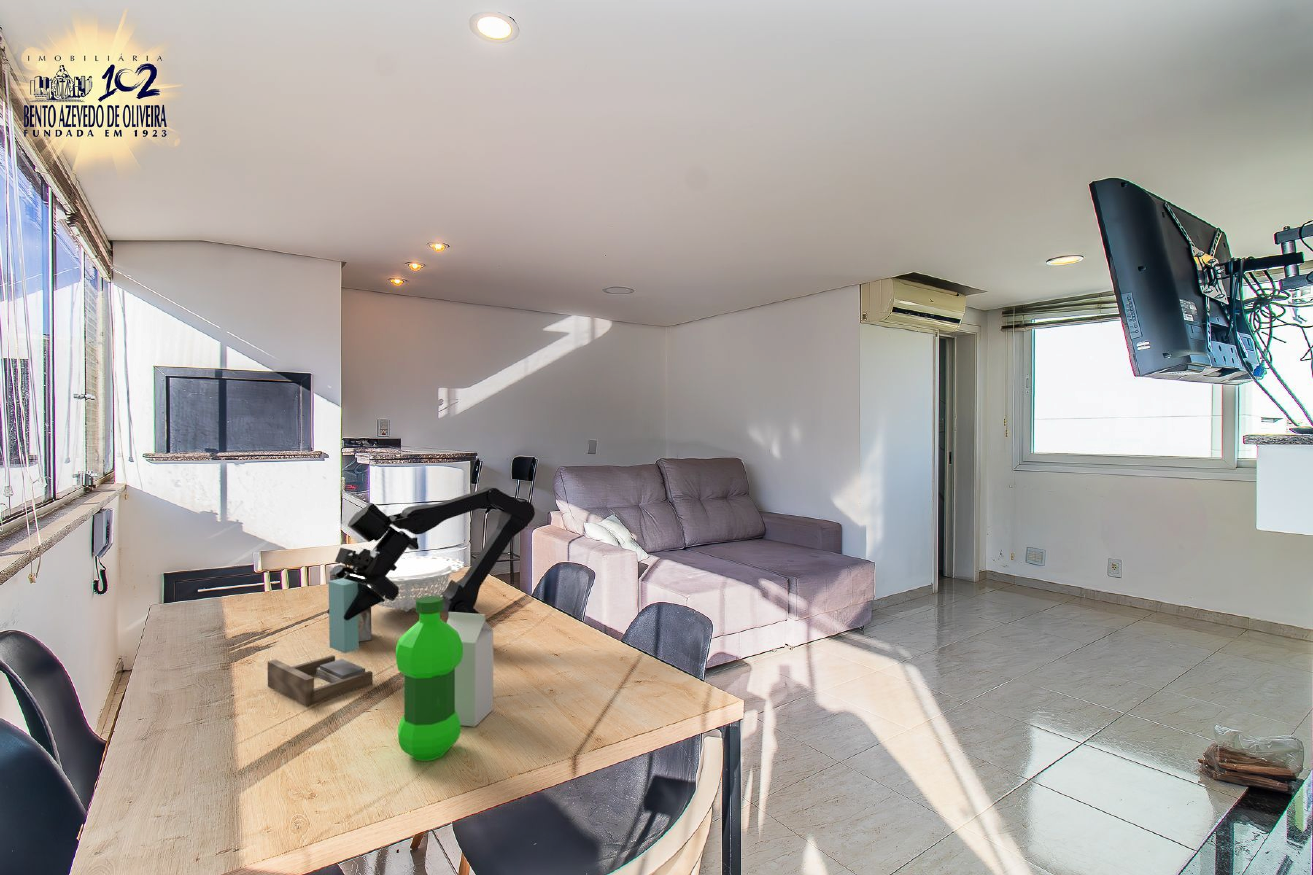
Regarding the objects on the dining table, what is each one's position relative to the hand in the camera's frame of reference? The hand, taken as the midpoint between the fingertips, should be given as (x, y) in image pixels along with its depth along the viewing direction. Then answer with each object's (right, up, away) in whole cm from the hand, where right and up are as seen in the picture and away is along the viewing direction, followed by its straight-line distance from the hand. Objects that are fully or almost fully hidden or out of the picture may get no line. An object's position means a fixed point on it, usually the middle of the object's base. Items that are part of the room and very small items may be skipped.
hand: (337, 616), depth 134 cm
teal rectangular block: (+1, -7, +1) cm, 7 cm away
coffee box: (-9, -13, +26) cm, 30 cm away
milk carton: (+32, -14, -16) cm, 38 cm away
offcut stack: (0, -13, +1) cm, 13 cm away
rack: (-2, -13, -2) cm, 14 cm away
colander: (-5, -12, +49) cm, 51 cm away
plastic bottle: (+30, -14, -29) cm, 44 cm away
